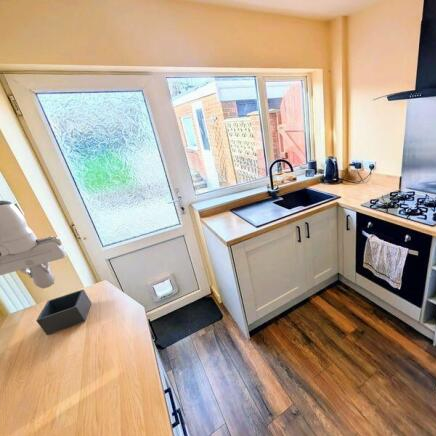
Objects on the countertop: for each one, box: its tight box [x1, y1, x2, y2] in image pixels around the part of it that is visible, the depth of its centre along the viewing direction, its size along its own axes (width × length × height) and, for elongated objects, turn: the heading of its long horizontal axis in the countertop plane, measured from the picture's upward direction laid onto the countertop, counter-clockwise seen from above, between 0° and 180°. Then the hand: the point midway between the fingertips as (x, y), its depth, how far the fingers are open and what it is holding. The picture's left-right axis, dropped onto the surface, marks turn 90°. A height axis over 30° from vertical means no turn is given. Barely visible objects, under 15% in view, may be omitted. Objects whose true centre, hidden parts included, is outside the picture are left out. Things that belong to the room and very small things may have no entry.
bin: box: [36, 289, 92, 336], centre depth 103 cm, size 13×13×8 cm
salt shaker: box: [25, 260, 56, 289], centre depth 93 cm, size 6×6×13 cm
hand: (40, 274), depth 94 cm, fingers closed on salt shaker, 3 cm apart
